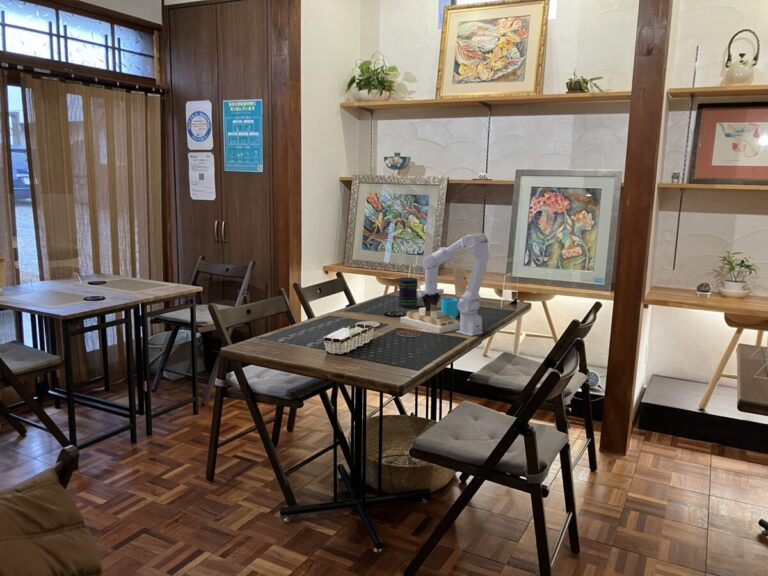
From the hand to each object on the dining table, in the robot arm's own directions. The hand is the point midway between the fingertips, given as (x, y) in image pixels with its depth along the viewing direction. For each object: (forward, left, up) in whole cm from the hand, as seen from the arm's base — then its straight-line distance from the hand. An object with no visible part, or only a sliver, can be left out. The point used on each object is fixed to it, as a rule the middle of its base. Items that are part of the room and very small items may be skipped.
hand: (430, 310), depth 288 cm
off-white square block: (+3, 0, -3) cm, 4 cm away
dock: (0, -1, -7) cm, 7 cm away
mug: (+10, -24, -8) cm, 27 cm away
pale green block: (-4, 0, -3) cm, 5 cm away
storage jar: (+38, -20, -8) cm, 44 cm away
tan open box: (0, 0, -5) cm, 5 cm away
